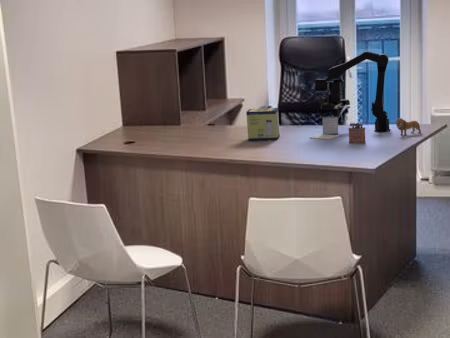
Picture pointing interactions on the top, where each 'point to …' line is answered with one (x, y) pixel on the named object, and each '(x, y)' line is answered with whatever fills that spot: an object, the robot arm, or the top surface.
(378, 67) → the robot arm
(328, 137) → the felt pad
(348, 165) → the top surface
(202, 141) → the top surface
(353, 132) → the lighter
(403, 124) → the lion figurine
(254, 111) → the protein box
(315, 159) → the top surface
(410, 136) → the top surface
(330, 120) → the medicine box
